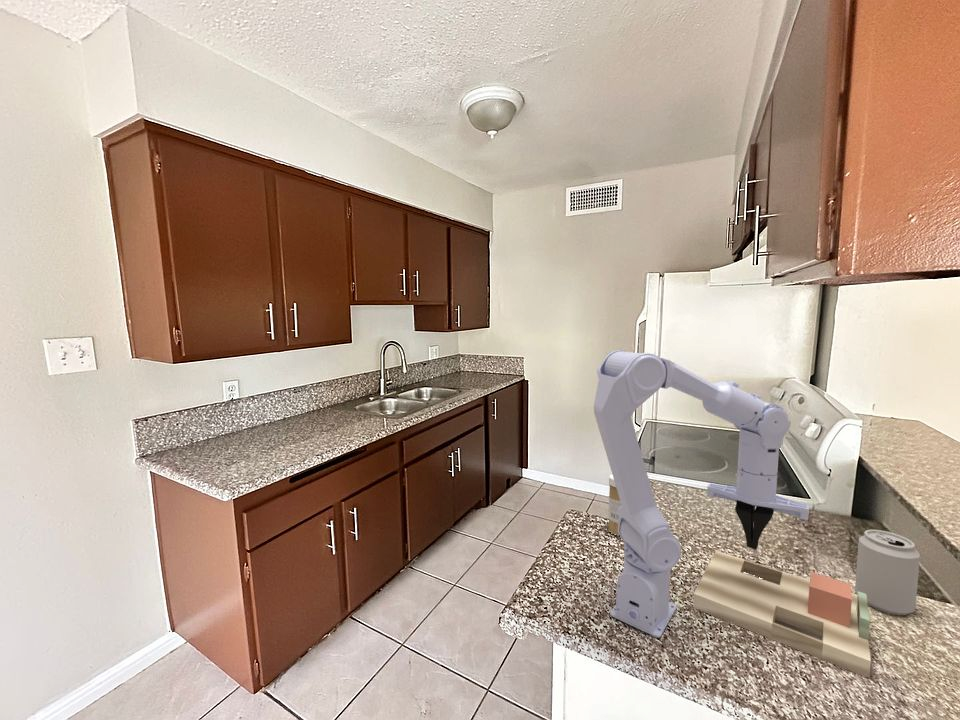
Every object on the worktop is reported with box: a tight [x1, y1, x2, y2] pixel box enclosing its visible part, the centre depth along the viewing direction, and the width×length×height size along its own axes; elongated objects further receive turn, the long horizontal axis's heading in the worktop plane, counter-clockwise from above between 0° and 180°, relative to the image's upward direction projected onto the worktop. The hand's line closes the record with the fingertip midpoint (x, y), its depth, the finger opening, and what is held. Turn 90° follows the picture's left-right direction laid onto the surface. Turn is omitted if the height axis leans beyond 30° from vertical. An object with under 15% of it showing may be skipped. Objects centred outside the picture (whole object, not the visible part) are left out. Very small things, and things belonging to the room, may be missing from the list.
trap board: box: [692, 550, 872, 679], centre depth 70 cm, size 18×22×6 cm
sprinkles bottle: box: [607, 473, 621, 535], centre depth 96 cm, size 5×5×14 cm
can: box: [854, 529, 921, 616], centre depth 71 cm, size 8×8×12 cm
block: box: [808, 571, 852, 628], centre depth 66 cm, size 5×5×4 cm
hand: (752, 546), depth 72 cm, fingers closed
